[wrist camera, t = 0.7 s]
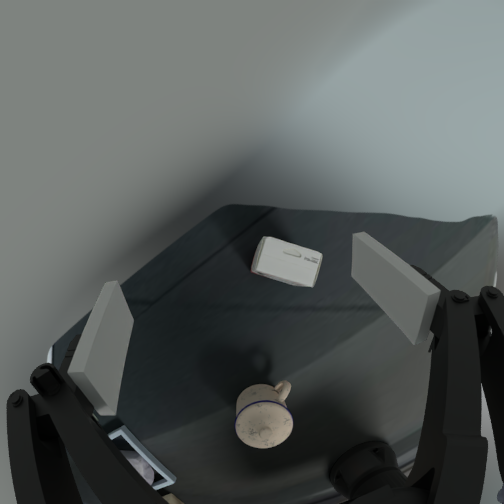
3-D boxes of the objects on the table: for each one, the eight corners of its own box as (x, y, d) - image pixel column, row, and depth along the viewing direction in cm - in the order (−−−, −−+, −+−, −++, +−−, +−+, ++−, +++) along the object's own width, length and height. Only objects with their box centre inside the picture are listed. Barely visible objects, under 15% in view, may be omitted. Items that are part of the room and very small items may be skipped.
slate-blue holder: (176, 477, 44) (174, 482, 42) (129, 495, 42) (126, 500, 40) (124, 424, 45) (120, 429, 43) (81, 447, 43) (77, 451, 41)
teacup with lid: (266, 431, 46) (273, 465, 35) (225, 410, 46) (222, 442, 35) (303, 384, 47) (320, 409, 36) (262, 360, 48) (269, 382, 36)
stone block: (160, 476, 46) (144, 448, 44) (156, 491, 41) (138, 463, 40) (114, 471, 45) (97, 443, 44) (109, 484, 41) (89, 456, 39)
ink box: (249, 272, 49) (252, 269, 37) (257, 245, 50) (263, 234, 38) (297, 287, 49) (314, 288, 37) (304, 260, 50) (324, 253, 38)
